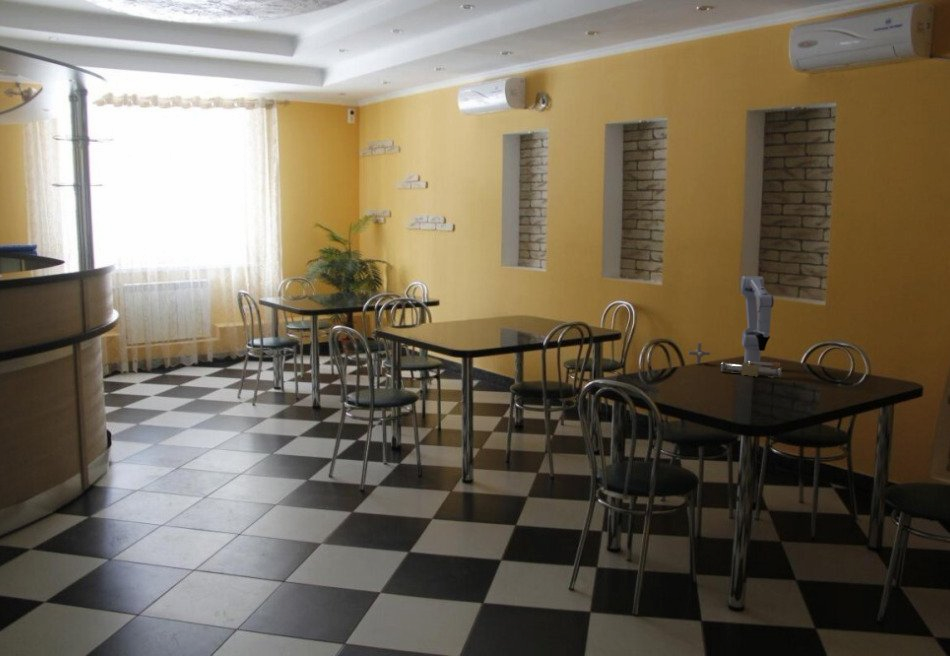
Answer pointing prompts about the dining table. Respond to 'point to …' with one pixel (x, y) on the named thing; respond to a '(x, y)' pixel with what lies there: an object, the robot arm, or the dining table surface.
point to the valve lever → (764, 363)
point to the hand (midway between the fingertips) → (761, 350)
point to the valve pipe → (751, 369)
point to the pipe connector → (699, 353)
